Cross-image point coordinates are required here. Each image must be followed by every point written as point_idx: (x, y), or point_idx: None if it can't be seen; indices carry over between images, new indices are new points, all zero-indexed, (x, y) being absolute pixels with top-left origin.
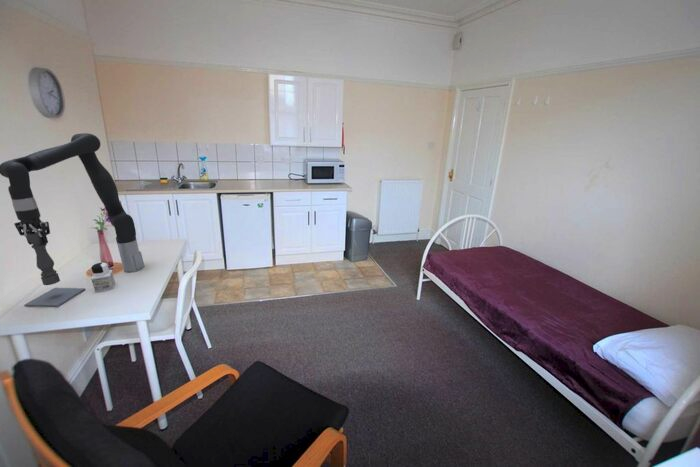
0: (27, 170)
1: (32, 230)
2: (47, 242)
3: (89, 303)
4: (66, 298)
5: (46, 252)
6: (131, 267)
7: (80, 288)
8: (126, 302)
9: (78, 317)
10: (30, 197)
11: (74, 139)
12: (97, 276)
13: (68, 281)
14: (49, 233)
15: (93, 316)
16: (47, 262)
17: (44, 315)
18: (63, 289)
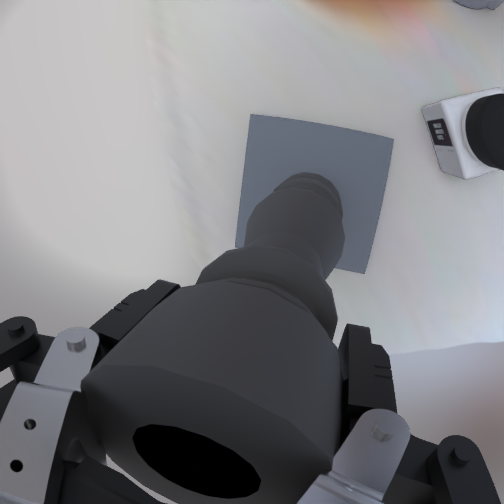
0: None
1: (74, 397)
2: (367, 331)
3: (457, 262)
4: (368, 224)
5: (322, 273)
6: (486, 2)
7: (374, 136)
8: None
9: (452, 341)
10: None
11: None
12: (486, 166)
13: (255, 44)
14: (469, 452)
15: (485, 340)
16: (330, 272)
17: (348, 316)
18: (302, 134)
